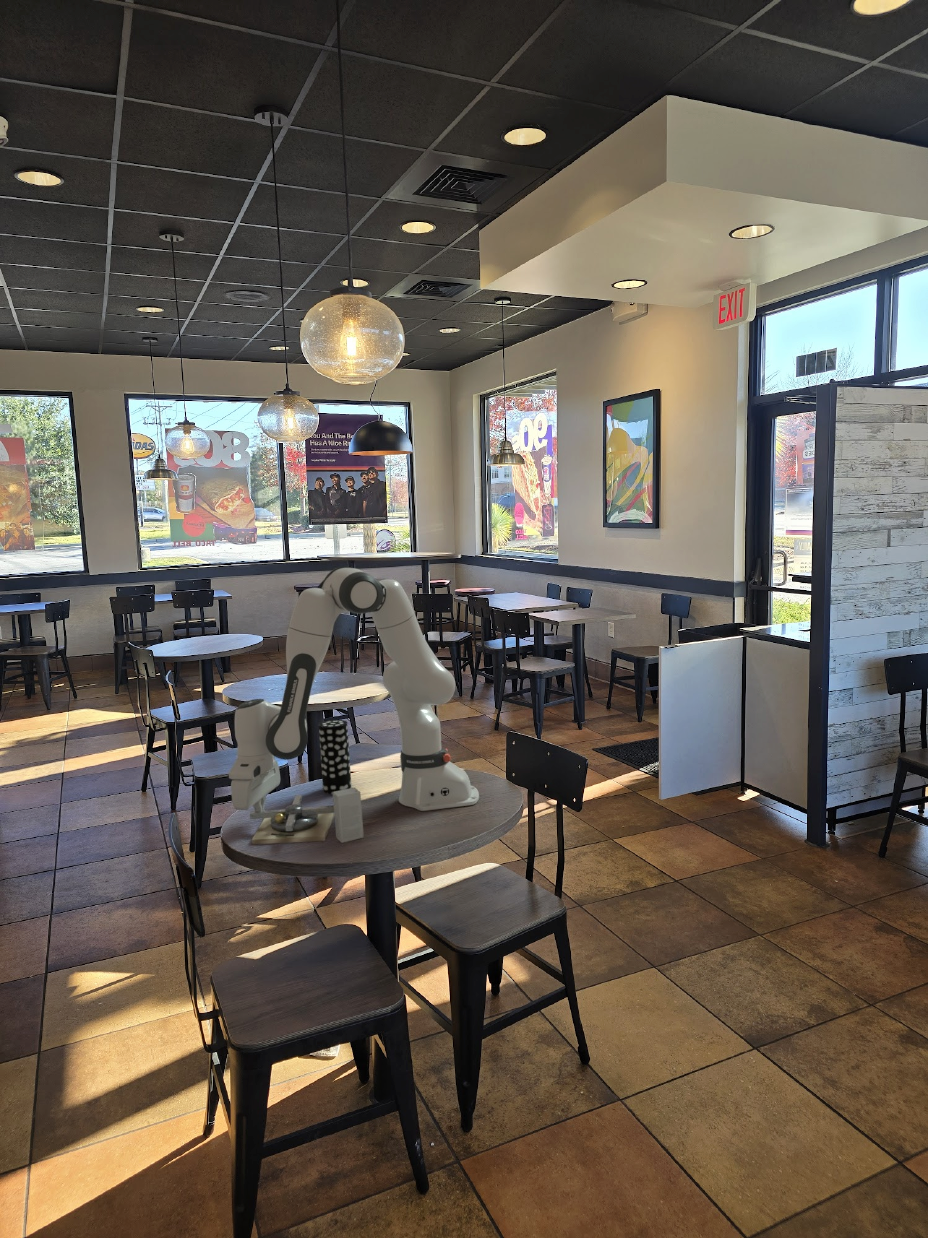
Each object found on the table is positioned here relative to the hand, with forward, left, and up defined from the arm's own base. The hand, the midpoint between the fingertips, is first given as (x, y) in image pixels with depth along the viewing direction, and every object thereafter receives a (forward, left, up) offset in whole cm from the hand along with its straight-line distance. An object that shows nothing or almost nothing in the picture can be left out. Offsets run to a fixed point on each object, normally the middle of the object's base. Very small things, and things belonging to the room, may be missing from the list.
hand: (259, 814), depth 207 cm
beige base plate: (-9, +1, -4) cm, 10 cm away
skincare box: (-24, +9, -4) cm, 26 cm away
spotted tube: (-16, -28, -4) cm, 32 cm away
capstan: (-9, +1, -3) cm, 9 cm away
